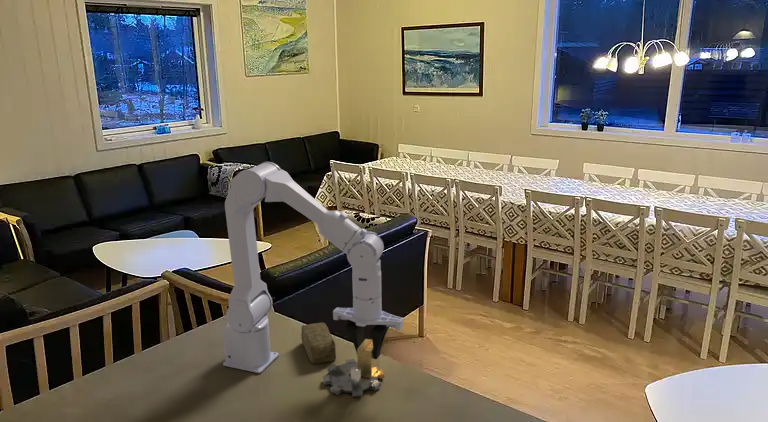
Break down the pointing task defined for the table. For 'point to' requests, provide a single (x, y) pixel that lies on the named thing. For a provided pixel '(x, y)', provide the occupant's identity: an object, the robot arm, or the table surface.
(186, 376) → the table surface
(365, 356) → the tan rectangular block
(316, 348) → the stone block
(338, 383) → the sprocket
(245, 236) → the robot arm
